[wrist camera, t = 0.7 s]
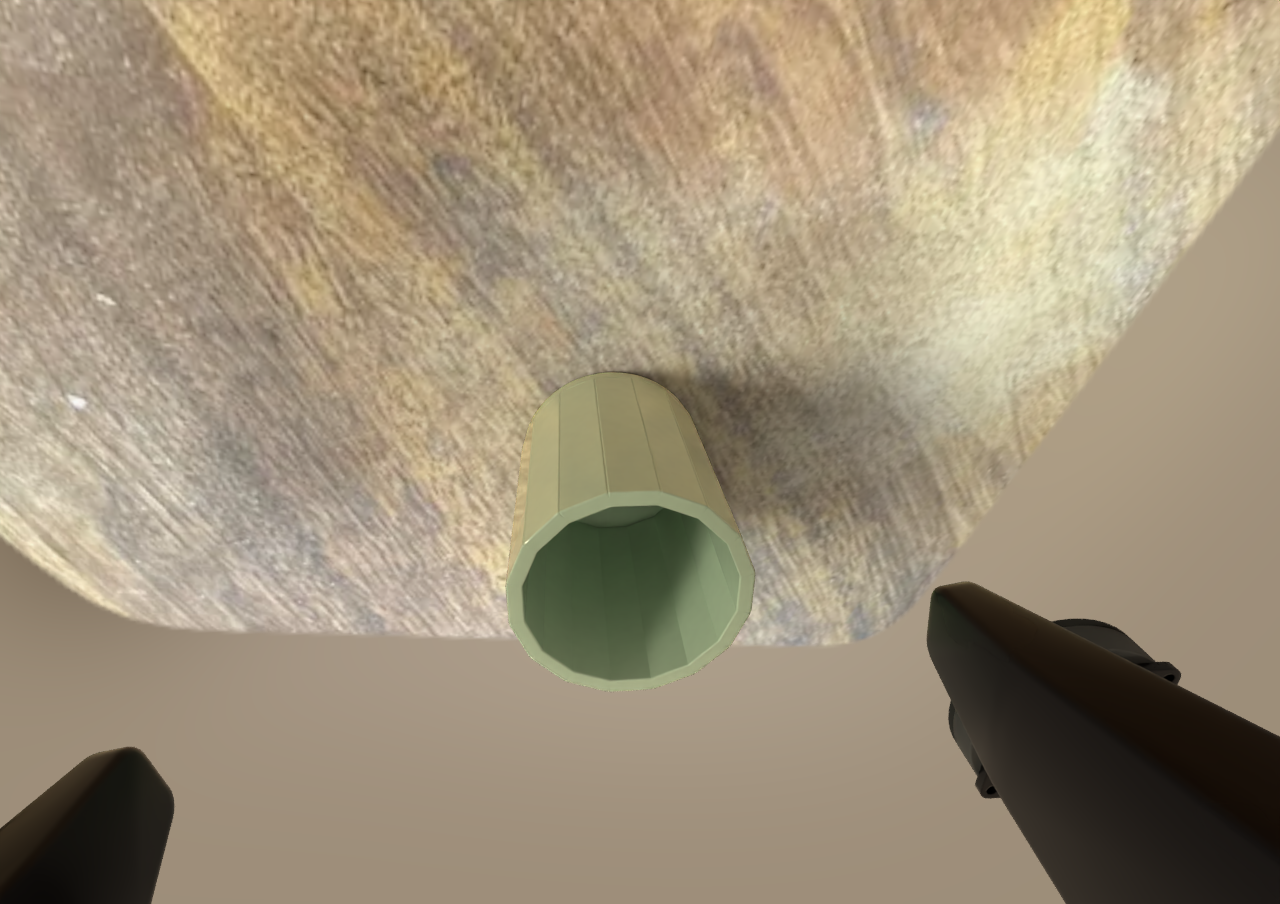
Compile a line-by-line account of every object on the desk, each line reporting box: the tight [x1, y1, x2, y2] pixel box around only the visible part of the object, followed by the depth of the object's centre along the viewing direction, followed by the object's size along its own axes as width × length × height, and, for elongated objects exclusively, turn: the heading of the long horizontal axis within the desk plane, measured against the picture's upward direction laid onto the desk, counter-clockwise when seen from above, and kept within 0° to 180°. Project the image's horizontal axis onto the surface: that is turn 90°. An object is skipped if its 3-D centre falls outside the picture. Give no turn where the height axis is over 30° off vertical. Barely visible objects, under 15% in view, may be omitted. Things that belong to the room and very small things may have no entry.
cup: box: [506, 372, 755, 692], centre depth 18 cm, size 5×5×7 cm
